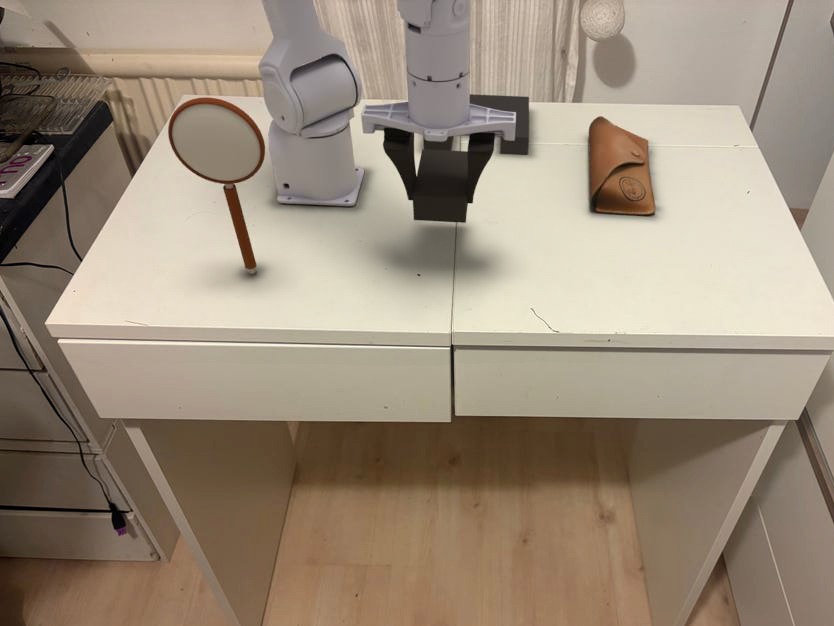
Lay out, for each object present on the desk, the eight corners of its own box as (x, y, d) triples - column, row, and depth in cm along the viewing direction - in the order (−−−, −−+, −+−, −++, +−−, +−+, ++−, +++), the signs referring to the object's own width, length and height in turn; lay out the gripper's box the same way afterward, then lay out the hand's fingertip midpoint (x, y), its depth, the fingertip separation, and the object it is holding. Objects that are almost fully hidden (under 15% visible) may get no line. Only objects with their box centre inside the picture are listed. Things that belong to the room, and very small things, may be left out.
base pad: (423, 150, 96) (423, 133, 94) (431, 108, 104) (431, 92, 102) (527, 154, 96) (529, 137, 94) (527, 112, 103) (528, 96, 102)
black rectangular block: (413, 220, 74) (412, 195, 71) (423, 173, 80) (422, 148, 78) (465, 223, 74) (465, 198, 71) (471, 175, 80) (471, 151, 78)
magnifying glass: (293, 268, 78) (256, 94, 64) (291, 278, 77) (252, 103, 62) (214, 267, 78) (159, 92, 63) (210, 277, 77) (153, 102, 62)
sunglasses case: (660, 213, 86) (640, 169, 82) (605, 234, 89) (584, 193, 85) (648, 138, 98) (631, 96, 94) (601, 158, 101) (582, 119, 97)
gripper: (349, 84, 61) (364, 215, 71) (518, 92, 61) (509, 222, 71) (363, 49, 66) (375, 176, 76) (519, 56, 66) (511, 183, 76)
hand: (440, 196), depth 74 cm, fingers closed on black rectangular block, 5 cm apart
